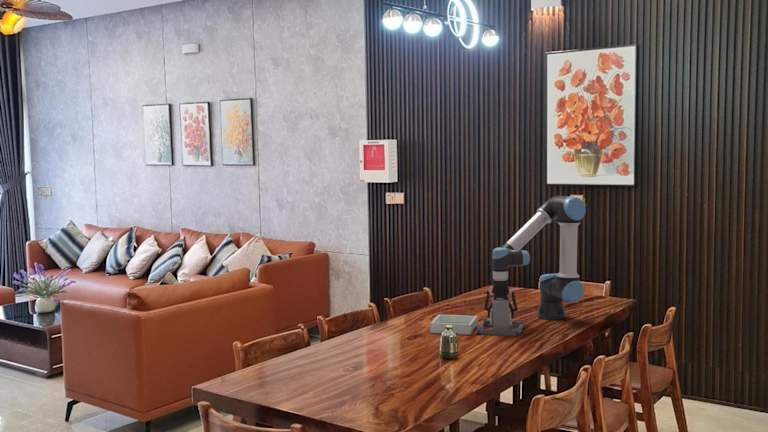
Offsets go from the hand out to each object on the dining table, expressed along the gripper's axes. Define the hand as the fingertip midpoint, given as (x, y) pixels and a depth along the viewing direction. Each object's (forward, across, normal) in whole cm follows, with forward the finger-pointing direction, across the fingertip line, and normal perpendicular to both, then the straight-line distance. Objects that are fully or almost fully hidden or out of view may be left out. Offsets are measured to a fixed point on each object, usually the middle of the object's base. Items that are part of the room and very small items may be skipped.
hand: (500, 324), depth 373 cm
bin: (+3, +23, +2) cm, 23 cm away
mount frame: (+3, 0, 0) cm, 3 cm away
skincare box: (+3, 0, 0) cm, 3 cm away
